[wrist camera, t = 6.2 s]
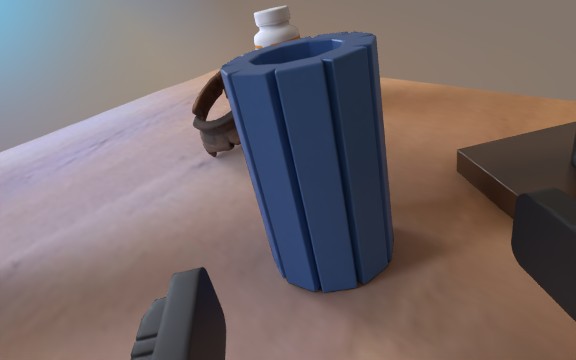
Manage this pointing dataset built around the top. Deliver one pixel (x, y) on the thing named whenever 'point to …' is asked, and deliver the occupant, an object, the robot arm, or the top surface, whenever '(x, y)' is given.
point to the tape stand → (522, 164)
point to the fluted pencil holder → (317, 155)
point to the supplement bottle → (274, 27)
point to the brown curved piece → (218, 131)
